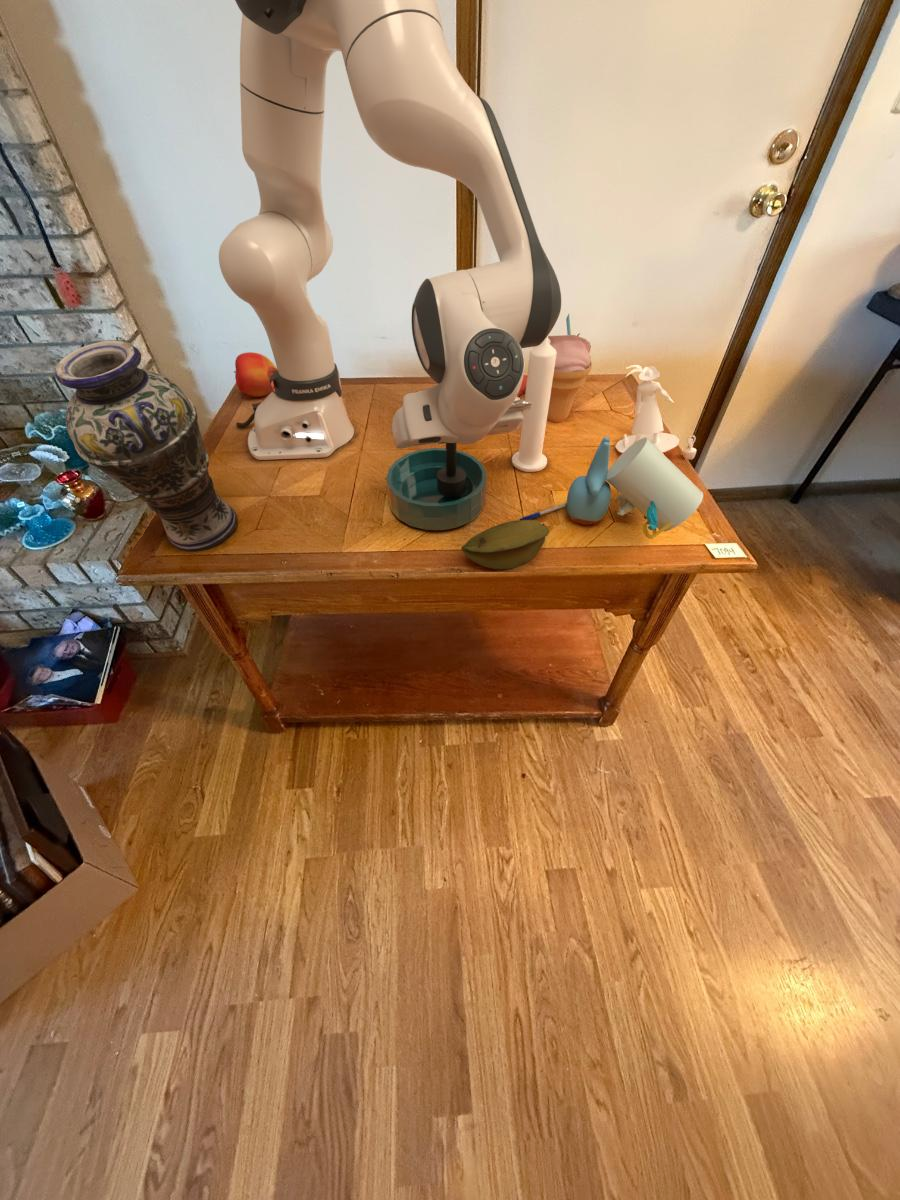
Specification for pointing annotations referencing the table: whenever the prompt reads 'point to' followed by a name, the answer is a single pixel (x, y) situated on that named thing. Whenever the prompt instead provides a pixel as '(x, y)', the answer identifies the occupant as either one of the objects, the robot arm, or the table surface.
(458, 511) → the bowl
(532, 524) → the fruit
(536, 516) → the ballpoint pen
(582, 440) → the table surface
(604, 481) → the toy
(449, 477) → the dark post on base
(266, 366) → the apple
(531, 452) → the candle
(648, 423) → the figurine
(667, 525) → the pale green cylinder
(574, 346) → the ice cream cone
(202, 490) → the vase
